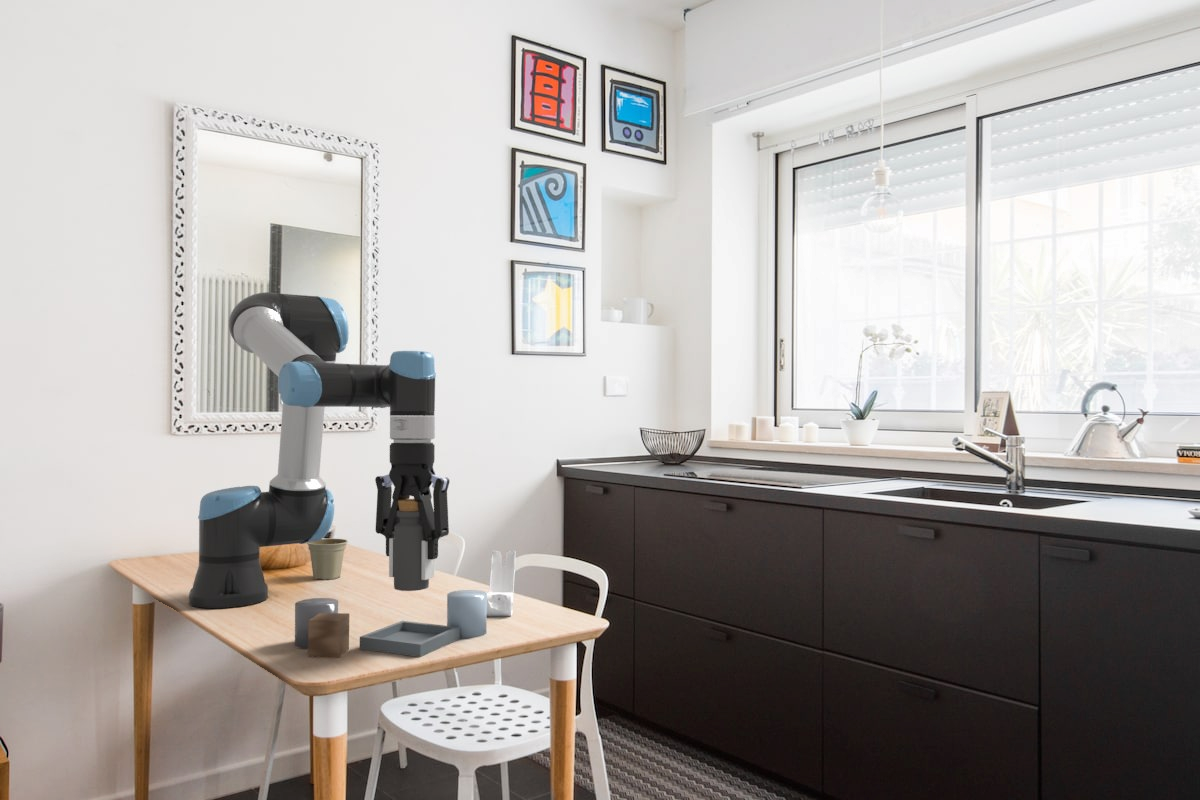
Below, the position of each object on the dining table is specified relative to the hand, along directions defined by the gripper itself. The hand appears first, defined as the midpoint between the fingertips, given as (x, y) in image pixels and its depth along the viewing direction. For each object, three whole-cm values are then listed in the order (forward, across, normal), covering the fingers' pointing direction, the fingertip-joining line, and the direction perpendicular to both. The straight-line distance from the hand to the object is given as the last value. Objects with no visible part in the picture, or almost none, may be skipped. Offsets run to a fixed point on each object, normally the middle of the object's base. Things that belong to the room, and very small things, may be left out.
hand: (411, 576), depth 147 cm
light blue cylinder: (+11, +5, +10) cm, 16 cm away
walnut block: (+11, -9, -10) cm, 18 cm away
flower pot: (+11, -52, +41) cm, 67 cm away
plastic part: (+12, +1, +26) cm, 29 cm away
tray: (+11, 0, 0) cm, 11 cm away
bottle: (+2, 0, 0) cm, 2 cm away
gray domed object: (+11, -15, -6) cm, 20 cm away
